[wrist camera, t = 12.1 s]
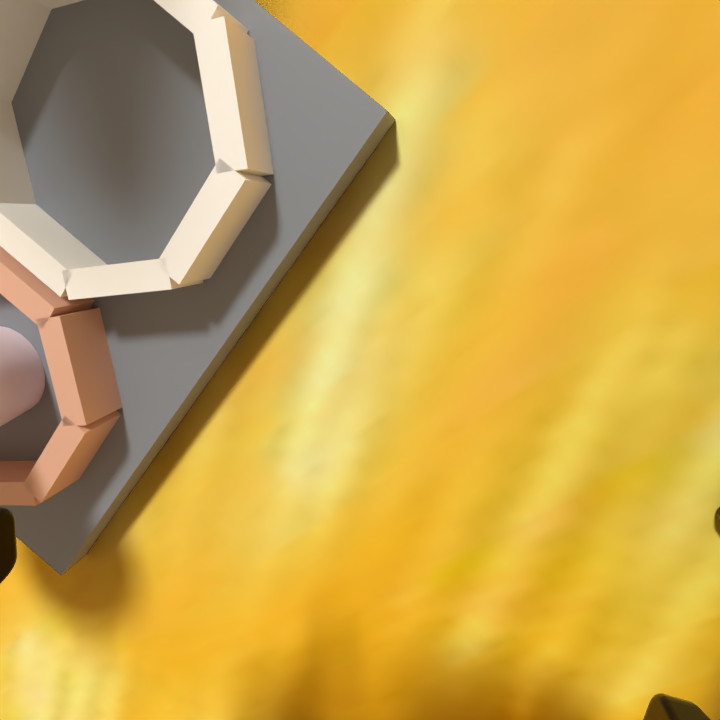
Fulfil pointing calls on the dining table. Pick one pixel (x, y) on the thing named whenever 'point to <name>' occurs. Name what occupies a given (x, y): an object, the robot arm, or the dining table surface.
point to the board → (148, 224)
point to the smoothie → (18, 375)
